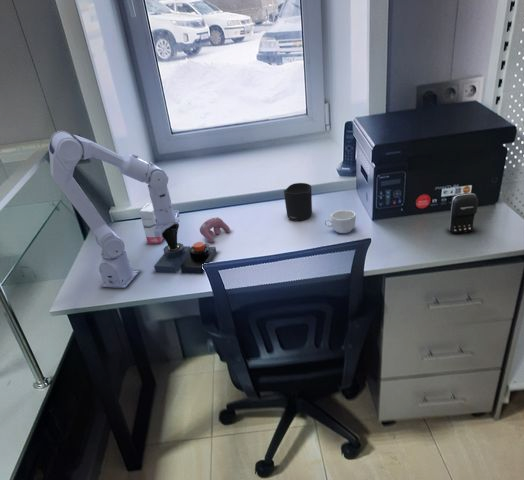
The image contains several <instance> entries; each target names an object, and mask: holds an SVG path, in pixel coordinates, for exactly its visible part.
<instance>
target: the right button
mask: <svg viewBox="0 0 524 480" xmlns="http://www.w3.org/2000/svg"><path fill="white" fill-rule="evenodd" d="M204 244H205V242H203V241H197V242H194V243H193V244H192V246H193V248H194V251H195V252H200V251H203V250H205V245H204Z"/></svg>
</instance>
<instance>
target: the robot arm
mask: <svg viewBox="0 0 524 480" xmlns="http://www.w3.org/2000/svg"><path fill="white" fill-rule="evenodd" d="M47 150H48V154H49V167H50V175H51V177H52V179H53V181H55V183H56V184H57V186H58V187H59V188H60V190H61V192H63V194H64V195H65V196H66V197H67V199H68V200H69V201H70V203H71V204H72V206H73V207H74V209H75V210H76V211H77V213H78V214H79V215H80V217H81V218H82V219H83V221H84V222H85V223H86V224H87V226H88V227H89V229H90V230H91V231H92V233H93V234H94V237H95V241H96V244H97V245H98V246H99V247H100V248H101V253H100V254H101V255H100V256H101V262H100V264H99V266H98V270H99V273H100V276H101V279H102V282H103V284H102V287H103V288H114V289H115V288H116V289H126V288H127V287H128V285H130V283H131V282H132V281H133V280H134V279H135V278H136V277H137V275H139V273H140V272H139V270H133V269H132V266H131V263H130V260H129V256H128V253H127V250H126V248H125V242H124V241H123V240H122V238H120V237H119V236H118V234H117V232H116V231H115V230H114V229H113V228H111V227H109V225H108V224H107V223H106V222H105V220H104V218H103V217H102V215H101V214H100V213H99V211H98V210H97V209H96V208H95V206H94V205H93V203H92V202H91V200H90V199H89V198H88V196H87V195H86V193H85V192H84V191H83V189H82V188H81V186H80V185H79V184H78V182H77V181H76V179H75V178H74V177H73V176H74V171H75V167H76V165H77V164H78V163H79V161H80V160H81V158H82V159H83V160H87V159H90V158H95V159H97V160H100V161H102V162H104V163H107V164H110V165H112V166H115V167H116V168H117V167H118V169H119V171H120V173H121V174H122V175H124V176H127V177H128V178H131V179H134V180H135V181H138V182H140V183H145V184H147V189H148V192H149V198H150V200H151V201H150V202H152V205H153V208H154V212H155V216H156V220H157V223H156V228H155V230H154V234H155V237H161V236H162V237H163V238H164V239H163V240H164V241H165V242H166V244H167V245H168V246H169V247H170V248H176V247H177V243H178V231H179V227H180V219H179V217H180V211H179V210H178V209H177V210H176V209H175V210H174V207H173V202H172V199H171V194H170V191H169V188H168V183H169V176H168V174H167V173H166V172H165V171H164V170H163V169H162V168H160V167H159V166H158V165H156V164H155V163H153V162H151V161H145V160H143V159H141V158H139V155H137V154H136V153H132V154H130V153H127V154H124V155H121V154H119V153H117V152H115V151H113V150H111V149H109V148H106V147H105V146H102V145H100V144H99V143H96V142H95V141H92V140H90V139H88V138H86V137H82V136H80V135H77V134H71V133H70V132H68V131H66V130H58V131H55V132H54V133H53V134H52V135H51V137H50V140H49V143H48V147H47Z"/></svg>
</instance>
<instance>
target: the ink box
mask: <svg viewBox="0 0 524 480" xmlns="http://www.w3.org/2000/svg"><path fill="white" fill-rule="evenodd" d="M139 215H140V219H141V223H142V227H143V230H144V235H145V237H146V243H147V244H149V245H150V244H161V243H162V242H163V240H165V239H164V238H163V237H162V236H161V237H155V234H154V230H155V228H156V223H157V220H156V216H155V212H154V208H153V205H152V201H148V202H147V203H146V204H145V205H144V206H143V207H142V208H141V209H140V210H139Z"/></svg>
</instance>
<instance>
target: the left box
mask: <svg viewBox="0 0 524 480" xmlns="http://www.w3.org/2000/svg"><path fill="white" fill-rule="evenodd" d="M177 245H179V249H178V250H175V251H168V247H169V246H168V244H167V245H166V246H164V248H162V249H163V255H162V256H161V257H160V258H159V259H158V261H157V262H156V263H155V264H154V266H153V268H154V271H155V273H172V274H173V273H174V274H175V273H176V274H177V272H178V271H179V270H180V269H181V268H180V267H181V265H182V264H183V263H184V261H185V260H186V259H187V257H188V256H189V255H190V252H189V249H190V248H191V246H190V245H189V246H186V245H185V246H184V244H183V243H180V242H177Z"/></svg>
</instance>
